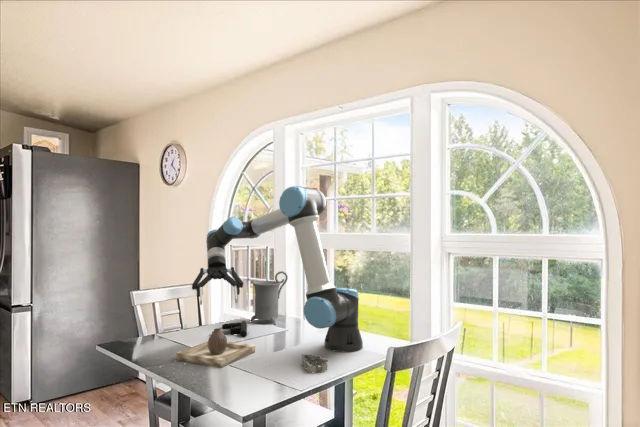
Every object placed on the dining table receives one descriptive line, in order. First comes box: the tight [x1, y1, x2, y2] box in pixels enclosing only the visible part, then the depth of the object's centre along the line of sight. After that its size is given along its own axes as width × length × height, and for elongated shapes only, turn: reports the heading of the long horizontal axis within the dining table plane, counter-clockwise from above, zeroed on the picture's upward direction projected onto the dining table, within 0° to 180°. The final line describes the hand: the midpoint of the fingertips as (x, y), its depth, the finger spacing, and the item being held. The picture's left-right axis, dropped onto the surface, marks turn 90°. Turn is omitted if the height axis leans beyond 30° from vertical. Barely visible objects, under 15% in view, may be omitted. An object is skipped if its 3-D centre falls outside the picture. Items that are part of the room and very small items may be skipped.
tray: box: [175, 340, 256, 369], centre depth 160 cm, size 20×20×2 cm
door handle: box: [211, 320, 248, 338], centre depth 195 cm, size 3×20×16 cm
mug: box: [250, 271, 289, 326], centre depth 217 cm, size 19×15×25 cm
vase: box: [207, 327, 228, 355], centre depth 161 cm, size 7×7×9 cm
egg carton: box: [300, 353, 329, 373], centre depth 148 cm, size 11×8×4 cm
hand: (218, 301), depth 172 cm, fingers open, 13 cm apart
